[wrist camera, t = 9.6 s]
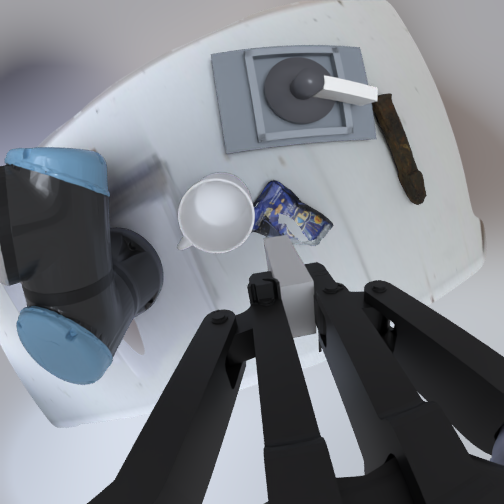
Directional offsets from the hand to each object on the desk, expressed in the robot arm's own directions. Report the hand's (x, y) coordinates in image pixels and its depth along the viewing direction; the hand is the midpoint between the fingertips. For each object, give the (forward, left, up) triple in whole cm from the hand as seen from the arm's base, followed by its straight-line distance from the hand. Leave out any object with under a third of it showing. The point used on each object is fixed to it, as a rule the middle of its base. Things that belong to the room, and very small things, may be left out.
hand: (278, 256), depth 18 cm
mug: (-6, -1, -25) cm, 25 cm away
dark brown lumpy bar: (+24, +5, -25) cm, 35 cm away
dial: (+10, +14, -22) cm, 28 cm away
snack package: (+4, -4, -25) cm, 26 cm away
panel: (+8, +14, -24) cm, 29 cm away
